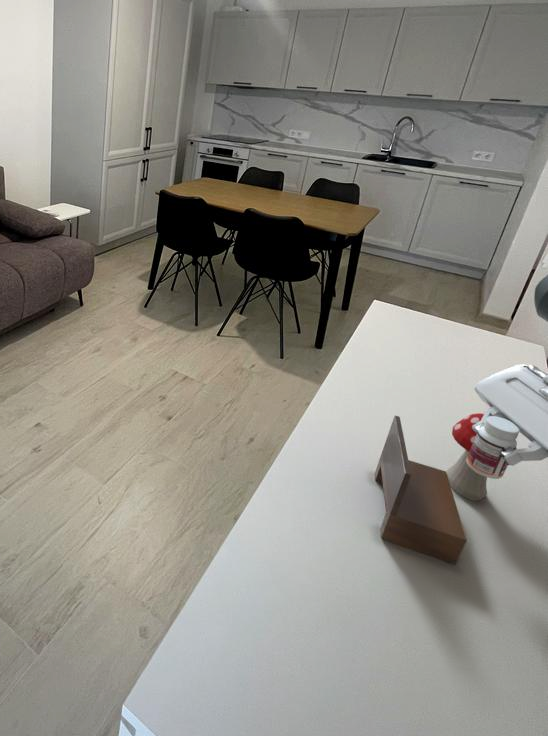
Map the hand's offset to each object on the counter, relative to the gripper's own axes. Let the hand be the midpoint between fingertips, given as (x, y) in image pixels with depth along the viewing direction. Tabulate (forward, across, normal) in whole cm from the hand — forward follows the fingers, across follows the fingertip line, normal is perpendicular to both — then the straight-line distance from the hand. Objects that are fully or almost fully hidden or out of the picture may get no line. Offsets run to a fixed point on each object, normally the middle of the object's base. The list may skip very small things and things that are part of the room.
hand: (490, 445), depth 75 cm
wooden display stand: (+16, -2, +7) cm, 17 cm away
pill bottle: (+3, 0, +4) cm, 5 cm away
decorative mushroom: (+6, -9, +17) cm, 20 cm away
